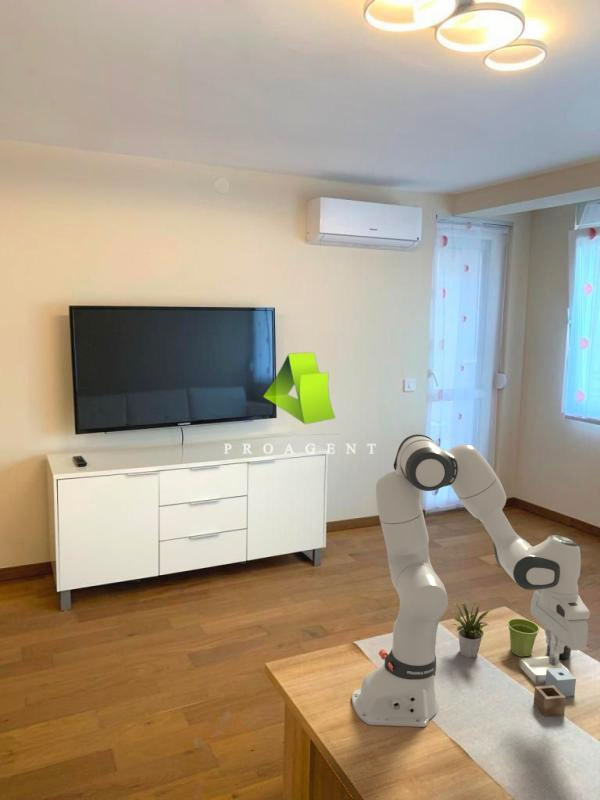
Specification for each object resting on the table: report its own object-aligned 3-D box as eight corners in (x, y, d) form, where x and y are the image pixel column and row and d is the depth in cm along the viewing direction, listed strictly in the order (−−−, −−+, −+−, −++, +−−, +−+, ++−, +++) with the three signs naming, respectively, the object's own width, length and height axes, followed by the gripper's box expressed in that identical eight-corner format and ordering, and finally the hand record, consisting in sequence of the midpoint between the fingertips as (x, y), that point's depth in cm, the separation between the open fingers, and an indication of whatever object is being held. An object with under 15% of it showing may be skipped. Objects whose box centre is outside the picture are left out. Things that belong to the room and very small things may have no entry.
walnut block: (544, 716, 165) (546, 699, 164) (533, 704, 170) (535, 686, 169) (564, 715, 166) (565, 697, 165) (552, 702, 171) (553, 685, 170)
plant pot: (540, 650, 198) (542, 624, 197) (533, 663, 190) (535, 636, 189) (509, 641, 203) (511, 615, 202) (501, 653, 195) (504, 627, 194)
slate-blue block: (556, 697, 173) (557, 680, 173) (545, 685, 179) (546, 669, 178) (574, 695, 174) (576, 678, 174) (562, 684, 180) (564, 667, 179)
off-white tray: (535, 683, 179) (536, 675, 179) (518, 666, 188) (519, 658, 188) (570, 680, 182) (571, 672, 181) (552, 663, 190) (553, 655, 190)
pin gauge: (552, 666, 165) (554, 633, 163) (546, 661, 167) (549, 629, 166) (560, 665, 165) (563, 633, 164) (555, 660, 167) (557, 628, 166)
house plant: (433, 654, 193) (436, 603, 191) (450, 636, 205) (453, 588, 203) (479, 670, 185) (483, 617, 183) (494, 650, 197) (498, 600, 195)
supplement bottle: (572, 663, 191) (576, 625, 189) (548, 660, 192) (552, 622, 191) (567, 651, 198) (571, 615, 196) (544, 648, 199) (548, 612, 197)
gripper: (526, 581, 173) (522, 629, 175) (571, 617, 153) (566, 670, 155) (547, 580, 174) (543, 628, 176) (594, 615, 154) (589, 668, 156)
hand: (554, 648), depth 165 cm, fingers closed on pin gauge, 2 cm apart
